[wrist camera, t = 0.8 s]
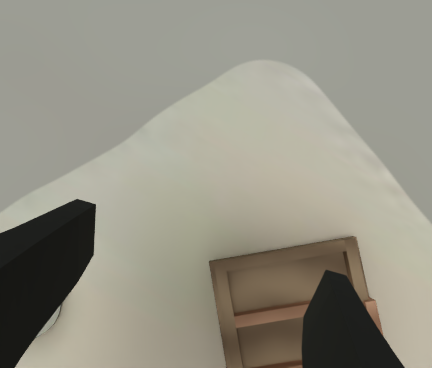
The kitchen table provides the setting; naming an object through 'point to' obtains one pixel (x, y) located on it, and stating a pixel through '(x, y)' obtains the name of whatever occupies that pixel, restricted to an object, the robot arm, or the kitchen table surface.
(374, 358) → the robot arm
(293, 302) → the rack
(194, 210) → the kitchen table surface
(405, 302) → the kitchen table surface
